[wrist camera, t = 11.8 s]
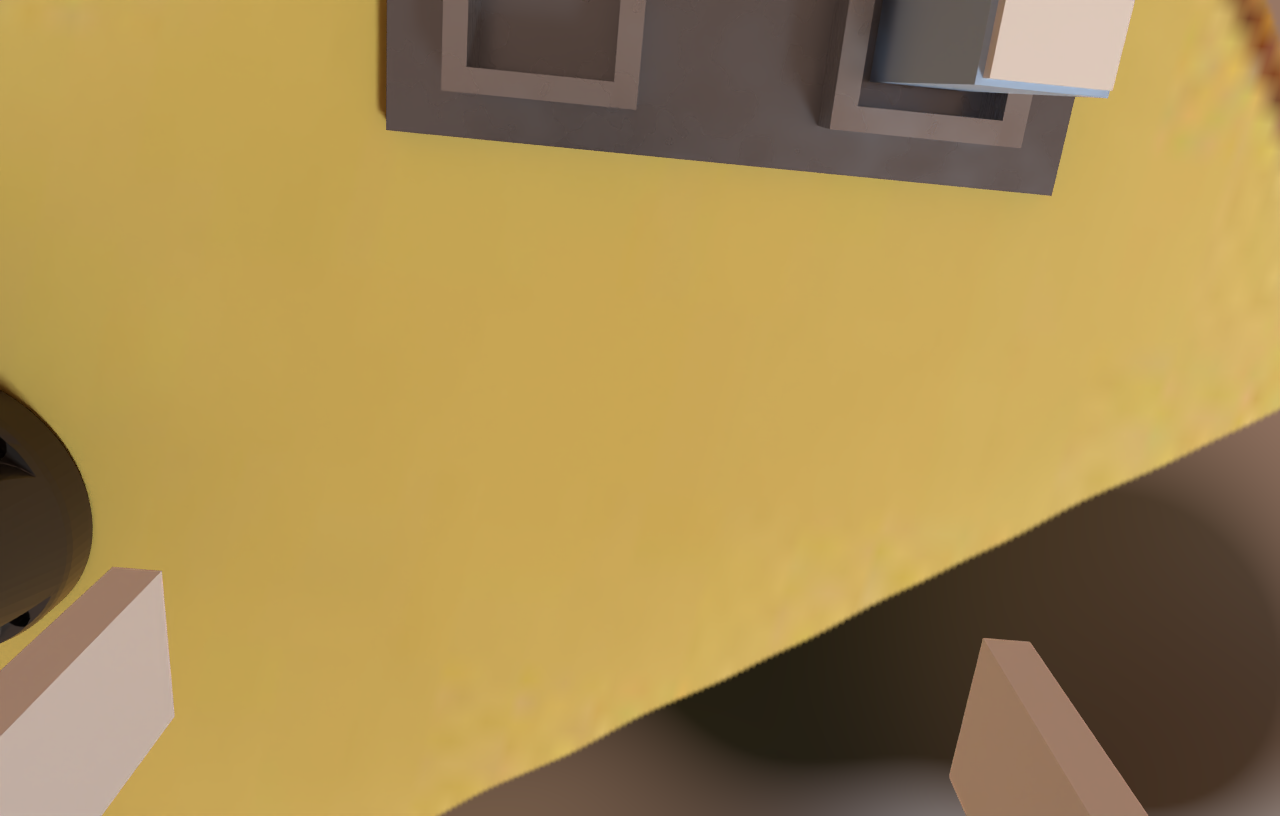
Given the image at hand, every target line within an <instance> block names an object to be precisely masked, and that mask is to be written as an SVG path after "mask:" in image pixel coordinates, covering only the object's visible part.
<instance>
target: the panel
mask: <svg viewBox="0 0 1280 816" xmlns="http://www.w3.org/2000/svg"><path fill="white" fill-rule="evenodd" d="M882 3H883V0H387V100H386V130H392V131H402V132H412V133H422V134H432V135H442V136H453V137H463V138H473V139H483V140H493V141H503V142H513V143H523V144H534V145H544V146H554V147H564V148H574V149H584V150H594V151H604V152H615V153H625V154H635V155H645V156H655V157H665V158H675V159H685V160H696V161H706V162H716V163H726V164H736V165H746V166H756V167H766V168H777V169H787V170H797V171H807V172H817V173H827V174H837V175H847V176H858V177H868V178H878V179H888V180H898V181H908V182H918V183H928V184H939V185H949V186H959V187H969V188H979V189H989V190H999V191H1009V192H1020V193H1030V194H1040V195H1050V196H1052V192H1053V187H1054V183H1055V179H1056V175H1057V170H1058V166H1059V162H1060V158H1061V154H1062V149H1063V145H1064V141H1065V137H1066V132H1067V128H1068V124H1069V120H1070V116H1071V111H1072V107H1073V103H1074V99H1075V97H1074V96H1053V95H1032V94H1011V93H990V92H970V91H955V90H945V89H935V88H925V87H915V86H905V85H895V84H886V83H876V82H869V81H870V75H871V69H872V63H873V57H874V51H875V45H876V39H877V33H878V27H879V21H880V15H881V9H882Z"/></svg>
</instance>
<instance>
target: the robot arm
mask: <svg viewBox="0 0 1280 816" xmlns="http://www.w3.org/2000/svg"><path fill="white" fill-rule="evenodd" d="M92 528H93V526H92V514H91V507H90V503H89V499H88V495H87V492H86V489H85V486H84V483H83V481H82V478H81V476H80V474H79V472H78V470H77V468H76V466H75V464H74V462H73V461H72V459H71V457H70V456H69V454H68V453H67V451H66V450H65V448H64V447H63V445H62V444H61V443H60V441H59V440H58V439H57V438H56V436H55V435H54V434H53V433H52V432H51V431H50V430H49V429H48V427H47V426H46V425H45V424H44V423H43V422H42V421H41V420H39V419H38V418H37V417H36V416H35V415H34V414H33V413H32V412H30V411H29V410H28V409H27V408H26V407H24V406H23V405H22V404H20V403H19V402H17V401H16V400H15V399H13V398H12V397H10V396H8V395H7V394H5V393H4V392H2V391H0V643H2V642H4V641H7V640H9V639H11V638H13V637H15V636H17V635H19V634H20V633H22V632H24V631H25V630H27V629H29V628H30V627H31V626H33V625H34V624H36V623H37V622H38V621H39V620H40V619H42V618H43V617H44V616H45V615H46V614H47V613H48V612H49V611H51V610H52V609H53V608H54V607H55V606H56V605H57V604H58V603H60V602H61V601H62V600H63V599H64V598H65V597H66V596H67V595H68V594H69V593H70V591H71V590H72V589H73V588H74V586H75V585H76V583H77V582H78V580H79V579H80V577H81V575H82V573H83V571H84V569H85V566H86V564H87V561H88V558H89V554H90V549H91V544H92ZM173 718H174V705H173V694H172V682H171V671H170V660H169V648H168V637H167V626H166V614H165V603H164V592H163V580H162V571H155V570H143V569H131V568H119V567H112V568H111V569H110V570H109V571H108V572H107V573H106V574H104V575H103V576H102V577H101V578H100V579H99V580H98V581H97V582H96V583H95V584H94V585H93V586H91V587H90V588H89V589H88V590H87V591H86V592H85V593H84V594H83V595H82V596H81V597H80V598H78V599H77V600H76V601H75V602H74V603H73V604H72V605H71V606H70V607H69V608H68V609H67V610H65V611H64V612H63V613H62V614H61V615H60V616H59V617H58V618H57V619H56V620H55V621H54V622H52V623H51V624H50V625H49V626H48V627H47V628H46V629H45V630H44V631H43V632H42V633H41V634H39V635H38V636H37V637H36V638H35V639H34V640H33V641H32V642H31V643H30V644H29V645H28V646H26V647H25V648H24V649H23V650H22V651H21V652H20V653H19V654H18V655H17V656H16V657H15V658H13V659H12V660H11V661H10V662H9V663H8V664H7V665H6V666H5V667H4V668H3V669H2V670H0V816H102V814H103V813H104V812H105V810H106V809H107V808H108V806H109V805H110V803H111V802H112V801H113V799H114V798H115V797H116V795H117V794H118V793H119V791H120V790H121V789H122V787H123V786H124V784H125V783H126V782H127V780H128V779H129V778H130V776H131V775H132V774H133V772H134V771H135V769H136V768H137V767H138V765H139V764H140V763H141V761H142V760H143V759H144V757H145V756H146V754H147V753H148V752H149V750H150V749H151V748H152V746H153V745H154V744H155V742H156V741H157V739H158V738H159V737H160V735H161V734H162V733H163V731H164V730H165V729H166V727H167V726H168V724H169V723H170V722H171V720H172V719H173ZM949 777H950V780H951V782H952V785H953V787H954V789H955V791H956V794H957V796H958V798H959V800H960V803H961V805H962V807H963V810H964V812H965V814H966V816H1148V815H1147V813H1146V812H1145V810H1144V809H1143V807H1142V806H1141V804H1140V803H1139V801H1138V800H1137V798H1136V797H1135V795H1134V794H1133V793H1132V791H1131V790H1130V788H1129V787H1128V785H1127V784H1126V783H1125V781H1124V779H1123V778H1122V776H1121V775H1120V774H1119V772H1118V771H1117V769H1116V768H1115V766H1114V765H1113V763H1112V762H1111V760H1110V759H1109V757H1108V756H1107V754H1106V753H1105V752H1104V750H1103V749H1102V747H1101V746H1100V744H1099V743H1098V741H1097V740H1096V738H1095V737H1094V735H1093V734H1092V732H1091V731H1090V730H1089V728H1088V726H1087V725H1086V724H1085V722H1084V721H1083V719H1082V718H1081V716H1080V715H1079V713H1078V712H1077V711H1076V709H1075V708H1074V706H1073V704H1072V703H1071V702H1070V700H1069V699H1068V697H1067V696H1066V695H1065V693H1064V691H1063V690H1062V688H1061V687H1060V685H1059V684H1058V683H1057V681H1056V680H1055V678H1054V677H1053V675H1052V674H1051V672H1050V671H1049V669H1048V668H1047V666H1046V665H1045V663H1044V662H1043V660H1042V659H1041V657H1040V656H1039V655H1038V653H1037V652H1036V650H1035V649H1034V647H1033V646H1032V644H1031V643H1030V642H1024V641H1012V640H1000V639H987V638H983V641H982V645H981V649H980V653H979V657H978V661H977V665H976V669H975V673H974V677H973V681H972V685H971V689H970V693H969V697H968V702H967V706H966V710H965V714H964V718H963V722H962V726H961V730H960V734H959V738H958V742H957V746H956V750H955V754H954V758H953V762H952V766H951V771H950V775H949Z"/></svg>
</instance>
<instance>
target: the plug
mask: <svg viewBox="0 0 1280 816" xmlns="http://www.w3.org/2000/svg"><path fill="white" fill-rule="evenodd" d="M1134 2H1135V0H883V3H882V9H881V15H880V21H879V27H878V33H877V39H876V45H875V51H874V57H873V63H872V69H871V75H870V81H869V82H876V83H886V84H895V85H905V86H915V87H925V88H935V89H945V90H955V91H970V92H990V93H1011V94H1032V95H1053V96H1074V97H1095V98H1108V96H1109V92H1110V91H1112V90H1113V86H1114V82H1115V78H1116V74H1117V70H1118V66H1119V62H1120V58H1121V54H1122V50H1123V46H1124V42H1125V38H1126V34H1127V30H1128V26H1129V22H1130V18H1131V14H1132V10H1133V6H1134Z"/></svg>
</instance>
